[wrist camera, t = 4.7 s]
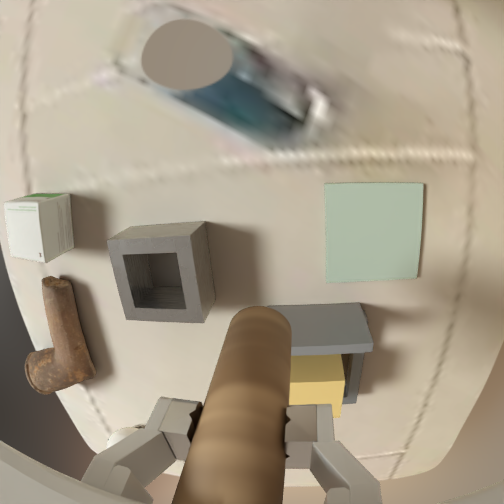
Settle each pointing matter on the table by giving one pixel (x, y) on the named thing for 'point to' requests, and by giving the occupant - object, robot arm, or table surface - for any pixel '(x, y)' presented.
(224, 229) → the table surface
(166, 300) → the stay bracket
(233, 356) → the rod
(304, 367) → the block
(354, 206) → the pad
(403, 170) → the table surface
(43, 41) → the table surface
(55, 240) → the small box
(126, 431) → the white ovoid
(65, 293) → the pipe
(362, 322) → the case
